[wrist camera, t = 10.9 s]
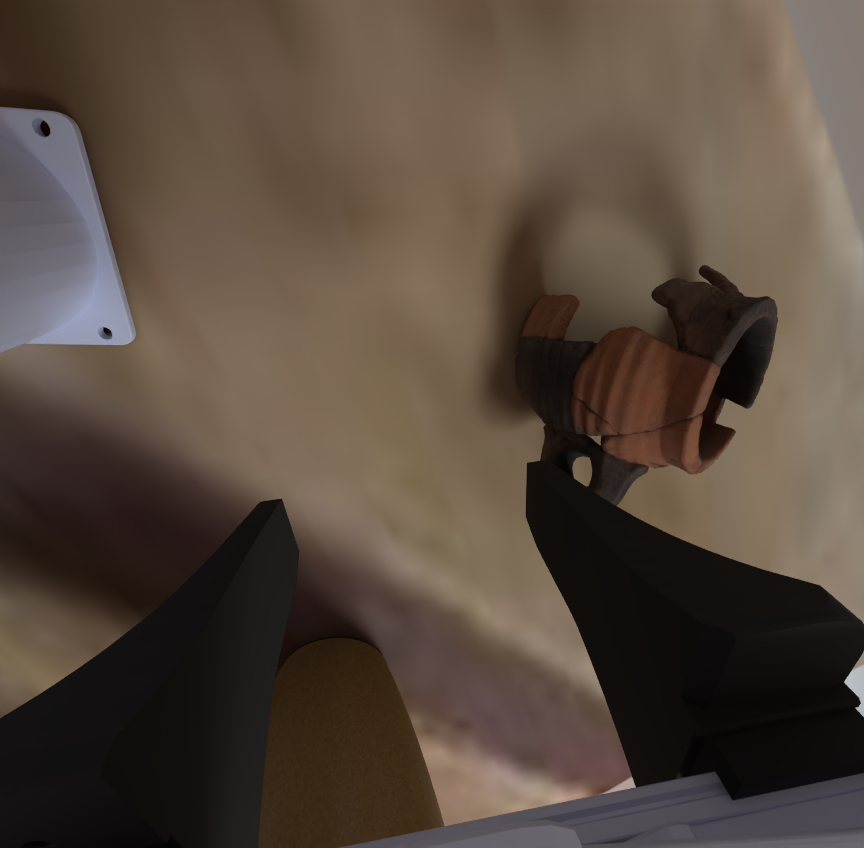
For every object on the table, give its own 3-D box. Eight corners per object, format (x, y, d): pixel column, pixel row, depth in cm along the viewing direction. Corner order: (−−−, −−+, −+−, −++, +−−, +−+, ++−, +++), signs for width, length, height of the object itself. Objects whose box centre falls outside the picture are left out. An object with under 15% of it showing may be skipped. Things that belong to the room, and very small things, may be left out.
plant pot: (464, 686, 33) (530, 1037, 19) (294, 745, 34) (241, 1120, 20) (389, 565, 26) (407, 982, 12) (177, 645, 27) (-29, 1115, 13)
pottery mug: (551, 222, 19) (773, 224, 13) (632, 299, 25) (804, 325, 19) (452, 468, 20) (607, 570, 15) (552, 481, 27) (687, 555, 21)
